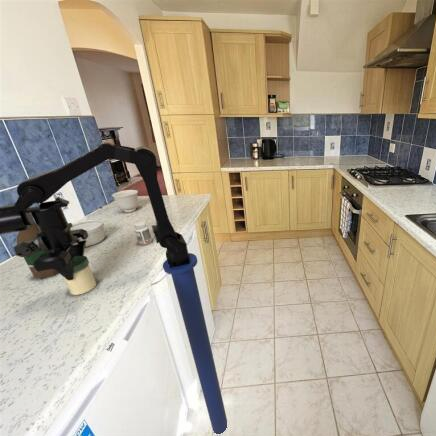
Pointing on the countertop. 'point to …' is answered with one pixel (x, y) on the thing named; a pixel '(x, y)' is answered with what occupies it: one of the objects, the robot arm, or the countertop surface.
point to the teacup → (127, 200)
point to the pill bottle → (142, 233)
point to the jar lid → (80, 263)
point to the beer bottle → (30, 260)
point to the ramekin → (91, 231)
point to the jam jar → (81, 281)
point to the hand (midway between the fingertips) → (75, 273)
